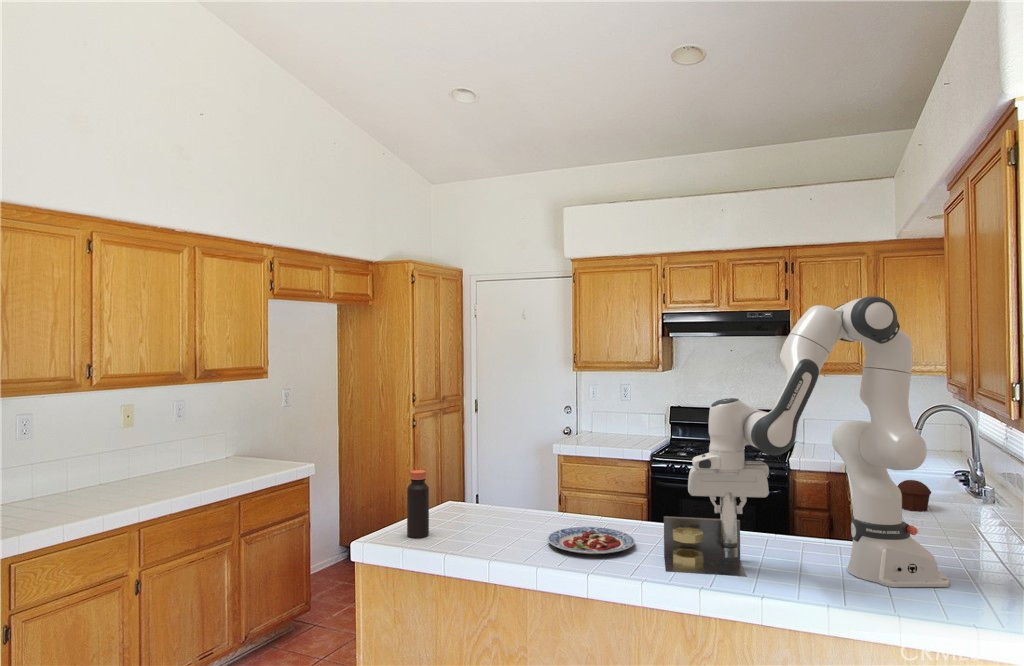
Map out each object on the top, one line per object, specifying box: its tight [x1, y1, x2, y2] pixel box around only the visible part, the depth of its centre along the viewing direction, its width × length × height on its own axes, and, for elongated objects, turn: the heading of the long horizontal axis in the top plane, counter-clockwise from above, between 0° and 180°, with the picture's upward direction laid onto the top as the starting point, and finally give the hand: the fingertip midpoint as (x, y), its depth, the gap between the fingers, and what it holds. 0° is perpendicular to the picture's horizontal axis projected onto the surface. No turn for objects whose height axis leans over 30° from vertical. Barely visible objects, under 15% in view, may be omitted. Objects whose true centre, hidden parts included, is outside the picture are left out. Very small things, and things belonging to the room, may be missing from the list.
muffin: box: [897, 479, 932, 513], centre depth 238 cm, size 12×11×10 cm
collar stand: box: [663, 515, 748, 578], centre depth 174 cm, size 20×13×12 cm, turn 79°
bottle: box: [406, 469, 430, 539], centre depth 207 cm, size 7×7×20 cm
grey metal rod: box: [719, 492, 738, 558], centre depth 173 cm, size 4×4×17 cm
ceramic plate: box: [547, 526, 636, 555], centre depth 196 cm, size 26×26×3 cm
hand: (728, 513), depth 173 cm, fingers closed on grey metal rod, 4 cm apart
